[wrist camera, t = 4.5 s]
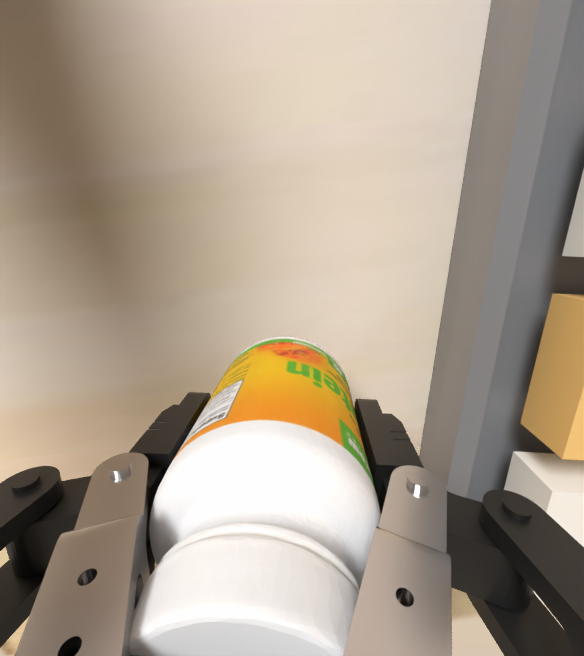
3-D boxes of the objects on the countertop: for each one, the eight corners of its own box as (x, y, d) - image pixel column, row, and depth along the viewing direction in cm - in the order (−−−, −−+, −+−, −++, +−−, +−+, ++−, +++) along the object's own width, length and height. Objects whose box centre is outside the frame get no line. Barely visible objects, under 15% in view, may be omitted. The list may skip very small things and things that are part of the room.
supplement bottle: (374, 390, 14) (518, 727, 4) (290, 465, 15) (260, 849, 6) (281, 306, 13) (208, 499, 3) (200, 393, 14) (-11, 705, 5)
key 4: (513, 451, 15) (552, 491, 13) (646, 458, 15) (712, 501, 12) (488, 550, 17) (519, 602, 14) (608, 558, 16) (660, 613, 14)
